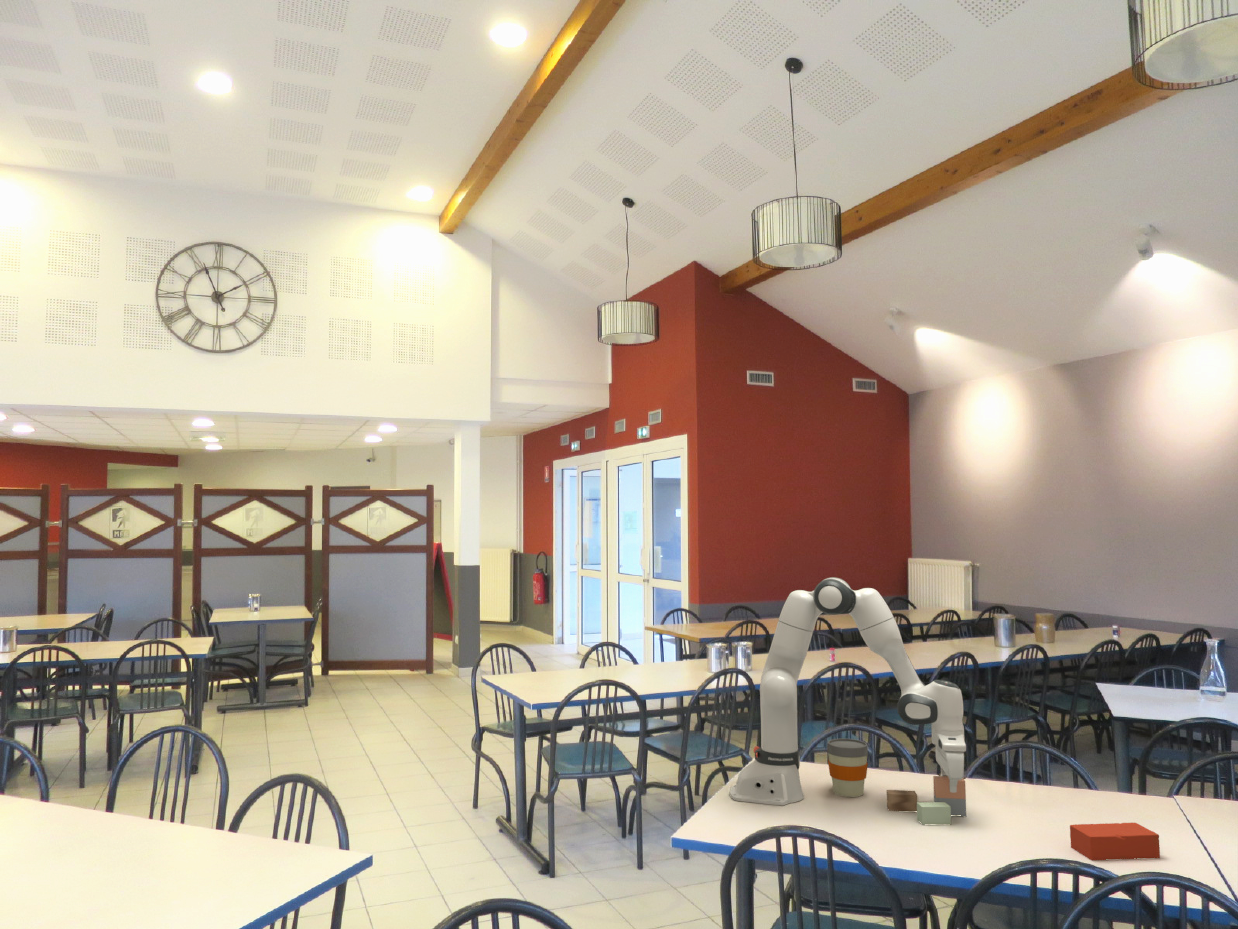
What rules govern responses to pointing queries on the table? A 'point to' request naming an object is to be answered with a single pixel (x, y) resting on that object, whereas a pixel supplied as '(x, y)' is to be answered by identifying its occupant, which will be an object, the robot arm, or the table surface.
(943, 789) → the terracotta block
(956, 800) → the slate block
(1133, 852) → the brick
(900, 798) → the walnut block
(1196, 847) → the table surface
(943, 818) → the sage block
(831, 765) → the reusable coffee cup
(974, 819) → the table surface
